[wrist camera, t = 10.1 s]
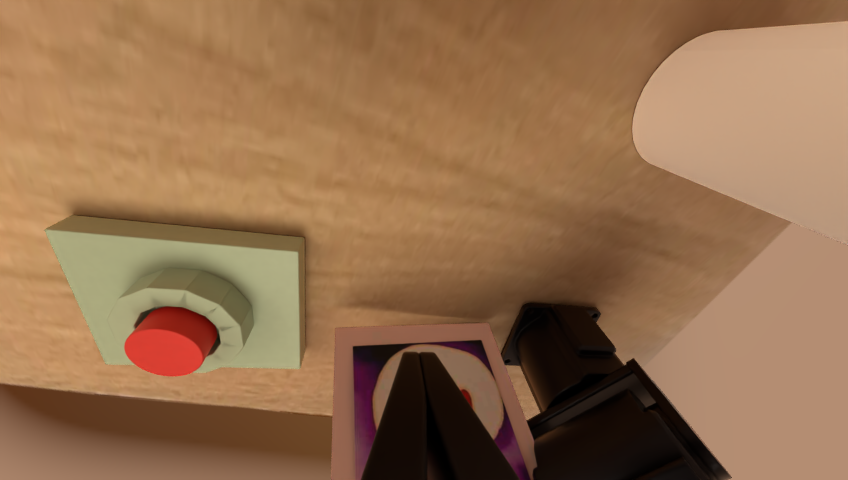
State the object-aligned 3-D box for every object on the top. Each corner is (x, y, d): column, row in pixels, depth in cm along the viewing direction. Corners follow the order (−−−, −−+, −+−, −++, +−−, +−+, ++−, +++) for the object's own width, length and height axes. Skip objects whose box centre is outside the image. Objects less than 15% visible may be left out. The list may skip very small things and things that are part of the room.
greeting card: (492, 316, 24) (615, 620, 13) (463, 365, 29) (537, 620, 18) (335, 320, 21) (324, 727, 10) (332, 374, 25) (321, 692, 14)
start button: (221, 352, 19) (207, 377, 18) (154, 350, 18) (133, 376, 17) (213, 307, 17) (197, 330, 16) (138, 303, 17) (114, 327, 15)
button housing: (305, 350, 24) (294, 392, 21) (123, 344, 22) (82, 390, 19) (304, 236, 19) (290, 270, 16) (72, 214, 17) (5, 248, 14)
